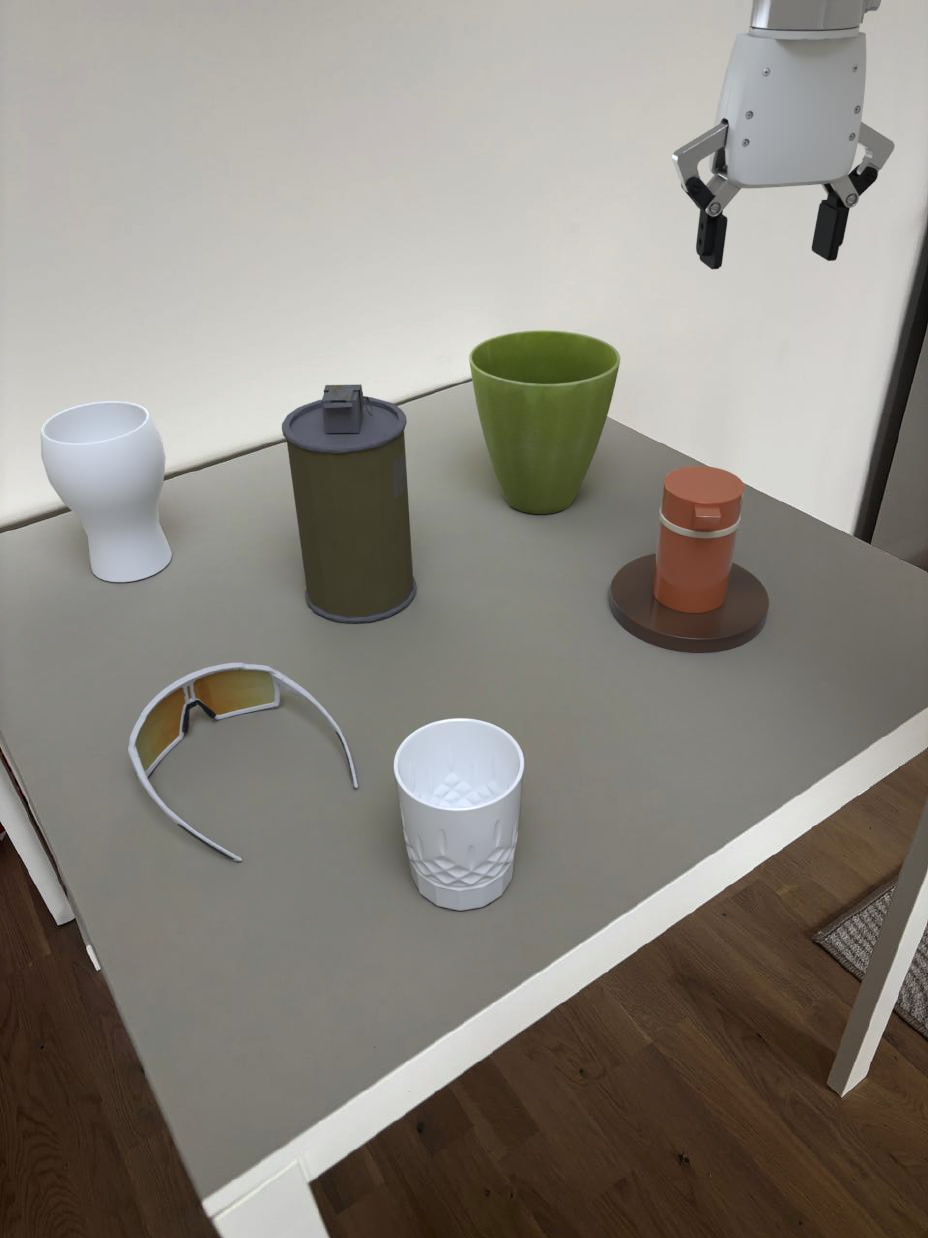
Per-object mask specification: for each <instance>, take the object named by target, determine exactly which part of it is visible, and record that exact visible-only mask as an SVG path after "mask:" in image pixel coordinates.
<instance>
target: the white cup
mask: <svg viewBox="0 0 928 1238" xmlns="http://www.w3.org/2000/svg"><path fill="white" fill-rule="evenodd" d="M524 772H525V757H524V753H523V751H522V748H521V746H520V745H519V743H518V742H517V740H516V739H515V738H514V737H513V736H512V735H511V734H510V733H509V732H507V731H506V730H504V729H503V728H501V727H499V726H497V725H495V724H493V723H491V722H488V721H485V720H481V719H477V718H476V719H475V718H467V717H456V718H454V717H453V718H446V719H441V720H436V721H433V722H430V723H428V724H425V725H423V726H421V727H419V728H417V729H416V730H414V731H413V732H411V733H410V734H409V735H408V736H407V737H406V738H405V739H404V740H403V741H402V742H401V743H400V745H399V746H398V748H397V751H396V753H395V755H394V759H393V773H394V779H395V786H396V792H397V800H398V807H399V814H400V820H401V821H400V822H401V826H402V831H403V837H404V844H405V848H406V852H407V856H408V860H409V867H410V874H411V878H412V880H413V882H414V884H415V886H416V888H417V890H418V892H419V894H420V895H422V897H424V898H425V899H426V900H429V902H430V903H432V904H433V905H435V906H436V907H440V908H445V909H449V910H452V911H453V910H454V911H457V912H458V911H459V912H461V911H468V910H469V911H470V910H475V909H481V908H484V907H486V906H487V905H489V904H490V903H492V902H493V901H495V900H497V899H498V898H501V896H503V894H504V892H506V890H507V887H508V886H509V885H510V883H511V882H512V879H513V874H514V873H513V872H514V858H515V851H516V847H517V844H518V836H519V828H520V827H519V825H520V820H521V811H522V810H521V808H522V798H523V797H522V795H523V784H524Z"/></svg>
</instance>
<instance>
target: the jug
mask: <svg viewBox="0 0 928 1238" xmlns="http://www.w3.org/2000/svg"><path fill="white" fill-rule="evenodd" d="M744 493H745V484H744V482H743V481H742V479H741V478H740V477H738V476H737V475H736V474H734V473H733V472H730V471H729V470H725V469H722V468H719V467H713V466H707V465H688V466H682V467H679V468H677V469H673V470H671V471H670V472H669V473H667V474H666V475H665V477H664V479H663V486H662V493H661V503H660V506H659V510H658V518H659V521H658V530H657V538H656V539H657V540H656V547H655V554H656V556H655V565H654V574H653V583H652V593H653V595H654V597H655V598H656V599H657V600H658V601H659V602H660V603H661V604H663V605H664V606H666V607H668V608H671V609H673V610H676V611H680V612H686V613H703V612H709V611H712V610H715V609H717V608H718V607H720V606H721V605H722V604H723V603H724V602H725V600H726V596H727V590H728V584H729V578H730V572H731V566H732V563H733V560H734V555H735V554H734V553H735V548H736V542H737V535H738V530H739V526H740V524H741V518H742V513H741V511H742V505H743V499H744Z"/></svg>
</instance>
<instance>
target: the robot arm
mask: <svg viewBox="0 0 928 1238" xmlns="http://www.w3.org/2000/svg"><path fill="white" fill-rule="evenodd" d="M881 3H882V0H752V2H751V11H750V19H749V27H748V32H743V33H737V34H736V36H735V39H734V42H733V45H732V48H731V51H730V52H731V53H730V54H729V59H728V62H727V65H726V69H725V72H724V73H725V74H724V77H723V82H722V86H721V90H720V94H719V99H718V103H717V109H716V114H715V119H714V124H713V127H712V128H710V129H709V130H707V131H705V132H704V133H702V134H701V135H699V136H697V137H696V138H693V140H690V141H689V142H687V143H686V144H684V145H682V146H681V147H679V148H678V149H675V150H674V152H673V153H672V155H671V160H672V163H673V166H674V169H675V171H676V175H677V177H678V179H679V181H680V187H681V189H682V190H683V191H684V193H686V195H687V196H688V197H689V198H690V200H692V202H693V203H694V205H695V206H696V208H698V209H699V216H698V226H697V234H696V243H695V251H696V254H697V255H698V256H699V261H700V262H701V263H703V264H704V265H706V267H708V268H709V269H711V270H719V269H720V268H722V266H723V258H724V250H725V244H726V237H727V230H728V217H727V216H726V215H725V214H723V213H724V209H726V207H727V206H728V205H729V204H730V202H731V201H732V200H733V199H734V198H735V197H736V195H738V193H739V192H740V191H741V190H742V189H767V188H785V187H786V188H787V187H800V186H801V187H803V186H817V185H821V187H822V189H823V190H824V191H825V193H826V195H827V197H826V199H821V202H820V203H819V204H818V210H817V214H816V215H817V216H816V222H815V227H814V232H813V238H812V241H811V242H812V243H811V251H812V252H813V253H814V254H816V255H818V256H819V257H820V258H823V259H824V260H826V261H828V262H834V261H836V260H837V259H838V254H839V249H840V247H842V245H843V243H844V239H845V233H846V230H847V225H848V220H849V215H850V214H849V213H850V209H852V208H854V207H856V205H857V204H858V203H859V200H860V197H861V196H862V195H863V194H864V193H865V192H866V191H867V190H868V189H869V188H870V187H871V186H872V185H873V184H874V183H875V182H876V181H877V179H878V176H879V172H880V170H882V169H883V167H884V166H885V164H886V163H887V161H888V160H889V158H890V156H891V155H892V153H893V151H894V150H895V142H894V141H893V140H891V139H890V138H888V137H887V136H885V135H883V134H881V133H880V132H879V131H877V130H875V129H874V128H872V127H870V126H869V125H867V124H866V123H865V122H863V121H862V117H863V111H864V102H865V92H866V91H865V90H866V77H867V76H866V75H867V33H865V32H863V31H860V28H861V27H860V26H861V24H863V23H864V19H865V15H866V14H867V13H868V12H876V11H878V10H879V8H880V6H881ZM858 145H859V146H861V147H862V148H864V151H865V153H864V155H863V157H862V159H861V160H862V161H861V162H860V164H858V165H856V166H855V167H854V168H853V169H852V167H853V164H854V162H855V161H854V160H855V157H856V153H857V148H858ZM708 156H709V158H708V159H709V160H708V167H709V171H710V173H711V174H712V175H713V176H712V177H711V178H710V179H709V180H708V182H706V183H704V181H703V180H702V179H701V177H700V174H699V170H698V165H699V163H700V162H701V161H703V159H705V158H707V157H708Z"/></svg>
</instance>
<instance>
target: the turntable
mask: <svg viewBox="0 0 928 1238" xmlns="http://www.w3.org/2000/svg"><path fill="white" fill-rule="evenodd" d="M655 556H656V553H651V554H648V555H647V554H646V555H644V556H640V557H638V558H635V559H634V560H632V561H630V562H628V563H626V564H625V565H623V566H622V567H621V568H620V569H619V570H618V571H617V572H616V574H615V575H614V576H613V579H612V580H611V584H610V590H609V591H610V592H609V607H610V611H611V612H612V613H611V614H612V615H613V617H614V618H615V619H616V621H617V622H618V624H619V625H620V626H622V628H624V630H626V631H627V632H628V633H630V634H632V635H633V636H634V637H636V638H637V639H640V640H642V641H644V642H646V643H649V644H651V645H653V646H656V647H660V648H663V649H668V650H672V651H676V652H685V653H701V654H702V653H715V652H723V651H727V650H732V649H734V648H737V647H740V646H741V645H744V644H746V643H748V642H750V641H751V640H753V639H754V638H755V637H756V636H758V635H759V634H760V632H761V631H762V630H763V628H764V626H765V624H766V621H767V616H768V613H769V607H770V599H769V595H768V592H767V590H766V588H765V586H764V584H762V582H761V580H759V578H757V577H756V576H755V575H754V574H753V573H751V572H750V571H749V570H747V569H746V568H744V567H742V566H740V565H739V564H737V563H734V562H732V566H731V572H730V578H729V584H728V590H727V596H726V600H725V602H724V603H723V604H722V605H721V606H720V607H718V608H717V609H715V610H712V611H709V612H703V613H686V612H680V611H676V610H673V609H671V608H668V607H666V606H664V605H663V604H661V603H660V602H659V601H658V600H657V599H656V598H655V597H654V595H653V593H652V583H653V574H654V565H655Z"/></svg>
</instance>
